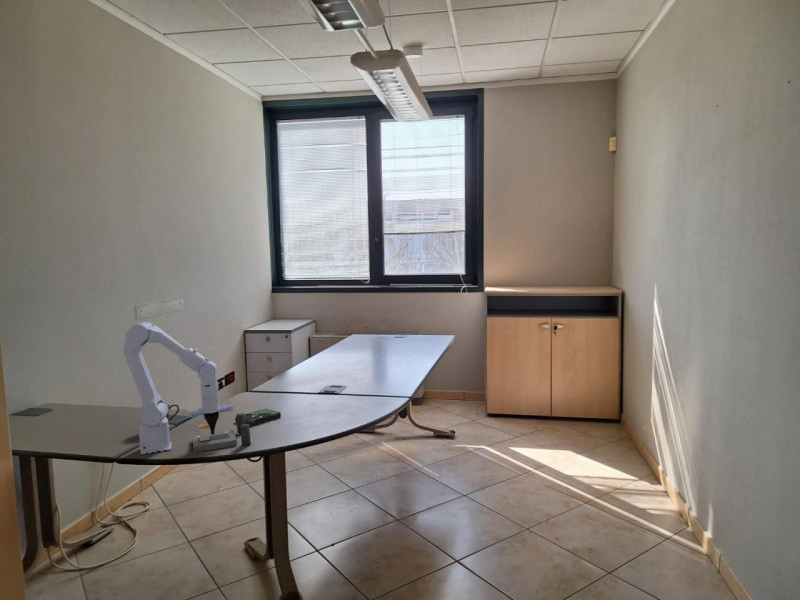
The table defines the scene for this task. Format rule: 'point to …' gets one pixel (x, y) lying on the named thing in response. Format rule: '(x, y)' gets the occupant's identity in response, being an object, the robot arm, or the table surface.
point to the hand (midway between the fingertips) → (212, 433)
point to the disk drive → (260, 417)
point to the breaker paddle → (204, 432)
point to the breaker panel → (215, 441)
